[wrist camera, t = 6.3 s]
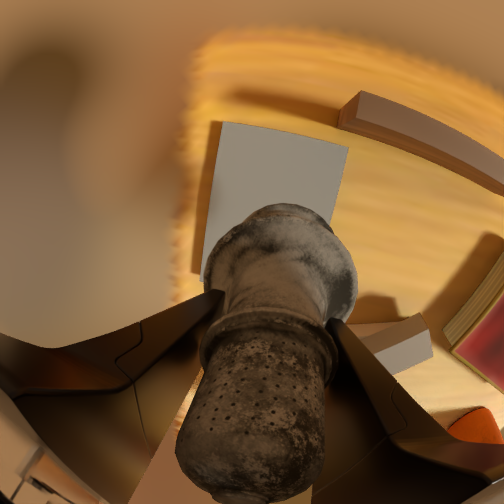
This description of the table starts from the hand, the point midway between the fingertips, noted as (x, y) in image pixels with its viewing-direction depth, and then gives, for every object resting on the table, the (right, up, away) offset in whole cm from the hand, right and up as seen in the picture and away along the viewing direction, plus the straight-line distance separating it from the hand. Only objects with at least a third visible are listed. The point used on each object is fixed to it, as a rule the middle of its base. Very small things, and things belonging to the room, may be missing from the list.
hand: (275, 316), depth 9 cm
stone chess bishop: (+1, +2, +5) cm, 5 cm away
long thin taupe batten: (+13, +10, +8) cm, 18 cm away
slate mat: (+1, +5, +12) cm, 13 cm away
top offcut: (+10, -7, +13) cm, 18 cm away
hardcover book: (+30, -7, +12) cm, 33 cm away
